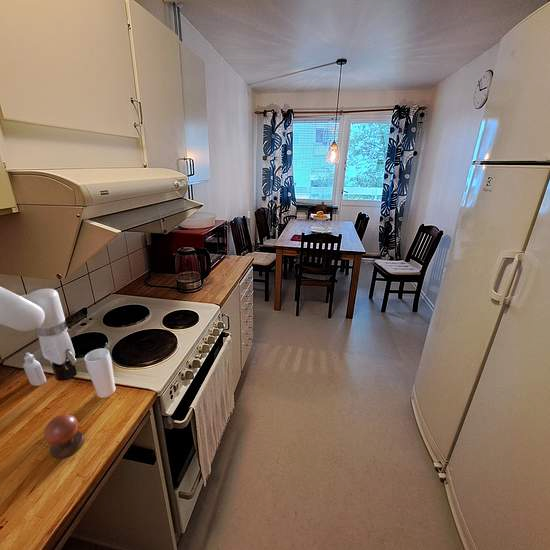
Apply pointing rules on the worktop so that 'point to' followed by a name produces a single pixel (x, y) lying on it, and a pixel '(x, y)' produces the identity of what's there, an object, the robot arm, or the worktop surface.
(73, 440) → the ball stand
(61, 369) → the napkin ring
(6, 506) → the worktop surface
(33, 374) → the eye dropper bottle
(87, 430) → the worktop surface
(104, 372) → the drinking glass
